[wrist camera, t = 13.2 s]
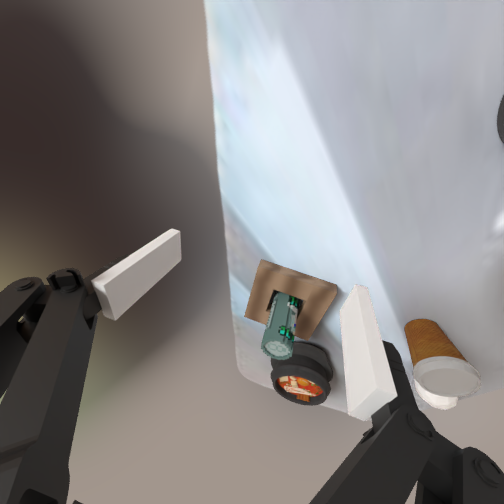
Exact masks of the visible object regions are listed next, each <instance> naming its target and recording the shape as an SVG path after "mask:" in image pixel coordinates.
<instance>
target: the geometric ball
mask: <svg viewBox="0 0 504 504" xmlns="http://www.w3.org/2000/svg"><path fill="white" fill-rule="evenodd" d="M415 387H416V391H417V392H418V394H419V395H420V396H421V398H422V399H423V400H424V401H426V402H427V403H428V404H430V405H431V406H432V407H435V408H439V409H443V410H447V409H449V408H452V407H455V406H456V403H457V401H458V397H444V396H439V395H435V394H432V393H430V392H428V391H426V390H424V389H423V388H422V387H421V386H420V384H419V383H418V382H417V381H416V380H415Z"/></svg>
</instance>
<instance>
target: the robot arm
mask: <svg viewBox="0 0 504 504" xmlns="http://www.w3.org/2000/svg"><path fill="white" fill-rule="evenodd" d="M497 125H498V131H499V135H500V137H501V139H502V141H503V142H504V96H503V98H502V101H501V103H500V107H499V111H498V118H497ZM180 261H181V241H180V231H178V230H174V229H170V230H168V231H167V232H165V233H164V234H162V235H161V236H159V237H158V238H156V239H155V240H153V241H152V242H150V243H148V244H147V245H145V246H144V247H142V248H141V249H139V250H138V251H136V252H134V253H133V254H131V255H124V256H121V257H118V258H117V259H115V260H114V261H112V262H111V263H109V264H107V265H105V267H103V268H101V269H99V270H97V271H96V272H94V273H93V274H91V275H89V276H88V277H86V278H85V279H83V278H82V275H81V273H80V271H79V270H77V269H74V268H66V269H62V270H58V271H56V272H54V273H52V274H50V275H49V276H48V277H47V281H48V282H49V284H50V285H44V283H43V282H42V280H41V279H40V278H38V277H27V278H23V279H19V280H17V281H15V282H13V283H11V284H10V285H8V286H7V287H6V288H5V289H4V290H3V291H1V292H0V398H1V397H2V395H3V394H4V393H5V391H6V390H7V391H6V393H5V395H4V398H3V400H2V402H1V404H0V504H66V501H67V496H68V490H69V482H70V475H69V468H68V462H69V456H70V451H71V446H72V441H73V436H74V432H75V426H76V422H77V417H78V412H79V407H80V402H81V397H82V392H83V387H84V382H85V377H86V372H87V368H88V363H89V358H90V353H91V348H92V343H93V338H94V332H95V328H96V323H97V313H98V312H99V311H100V310H101V309H102V311H103V314H104V316H105V317H108V318H110V319H113V320H116V319H118V318H119V316H121V315H122V314H123V313H124V312H125V311H126V310H127V309H128V308H129V307H131V306H132V305H133V304H134V303H135V302H136V301H137V300H138V299H139V298H140V297H141V296H143V295H144V294H145V293H146V292H147V291H148V290H149V289H150V288H151V287H152V286H154V285H155V284H156V283H157V282H158V281H159V280H160V279H161V278H162V277H163V276H164V275H165V274H167V273H168V272H169V271H170V270H171V269H172V268H173V267H174V266H175V265H176V264H177V263H178V262H180ZM339 312H340V324H341V336H342V347H343V359H344V370H345V382H346V393H347V405H348V415H350V416H353V417H355V418H358V419H360V420H363V421H366V420H368V419H369V418H370V417H371V418H372V424H373V427H372V428H371V429H369V430H368V431H367V432H365V433H364V434H363V436H364V437H363V438H362V439H361V441H360V442H359V443H358V444H357V446H356V447H355V448H354V449H353V451H352V452H351V453H350V454H349V455H348V457H347V458H346V459H345V460H344V462H343V463H342V464H341V465H340V467H339V468H338V469H337V470H336V471H335V472H334V474H333V475H332V476H331V477H330V479H329V480H328V481H327V482H326V484H325V485H324V486H323V487H322V488H321V490H320V491H319V492H318V493H317V495H316V496H315V497H314V498H313V500H312V501H311V502H310V503H309V504H405V502H406V500H407V499H408V497H409V495H410V493H411V491H412V489H413V487H414V485H415V483H416V481H418V482H417V490H416V497H415V504H504V473H503V472H502V471H501V469H500V468H499V467H498V466H497V465H496V463H495V462H494V461H493V460H491V459H490V458H489V457H488V456H487V455H486V454H485V453H483V452H481V451H480V450H478V449H476V448H473V447H467V448H464V449H461V448H459V447H458V446H456V445H455V444H453V443H452V442H450V441H449V440H448V439H446V438H445V437H443V436H442V435H440V434H439V433H438V432H436V431H435V429H434V427H433V425H432V423H431V421H430V420H429V419H428V418H427V417H426V416H425V414H423V413H422V412H421V411H420V410H419V409H418V407H417V404H416V401H415V398H414V395H413V392H412V389H411V386H410V383H409V380H408V377H407V375H406V374H405V373H406V372H405V369H404V366H403V363H402V360H401V357H400V354H399V352H398V351H397V350H396V348H395V347H394V345H393V344H392V343H389V342H386V341H383V340H382V338H381V335H380V331H379V327H378V324H377V320H376V317H375V313H374V309H373V306H372V302H371V299H370V295H369V291H368V288H367V287H364V286H360V285H357V284H355V286H354V288H353V289H352V291H351V293H350V294H349V296H348V298H347V299H346V301H345V303H344V305H343V306H342V308H341V310H340V311H339ZM22 316H23V317H24V318H23V319H22V320H21V321H20V322H18V320H19V319H20V318H21V317H22ZM7 388H8V389H7ZM73 504H82V503H80V502H78V501H76V500H75V501H74V502H73Z"/></svg>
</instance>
